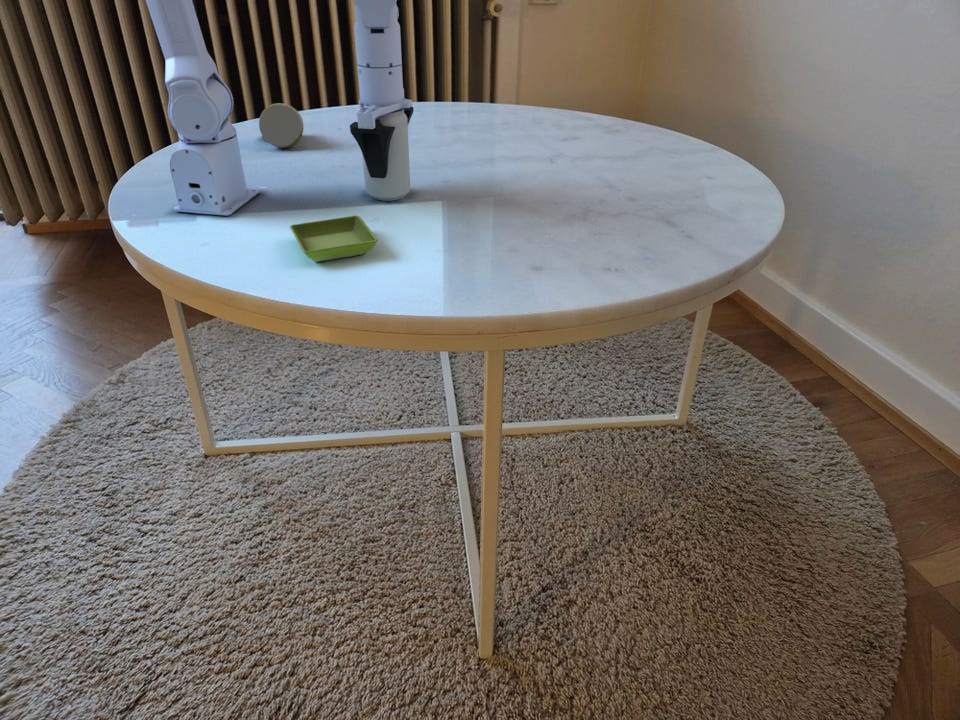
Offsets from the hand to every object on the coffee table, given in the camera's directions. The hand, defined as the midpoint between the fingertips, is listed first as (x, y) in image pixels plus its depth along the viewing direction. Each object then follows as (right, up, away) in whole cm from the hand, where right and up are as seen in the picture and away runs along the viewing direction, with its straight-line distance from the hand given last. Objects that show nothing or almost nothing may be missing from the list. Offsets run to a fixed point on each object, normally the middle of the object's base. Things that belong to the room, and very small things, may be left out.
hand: (386, 168), depth 95 cm
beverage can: (0, -3, +2) cm, 4 cm away
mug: (-21, +11, +23) cm, 33 cm away
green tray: (-4, -14, -13) cm, 19 cm away
